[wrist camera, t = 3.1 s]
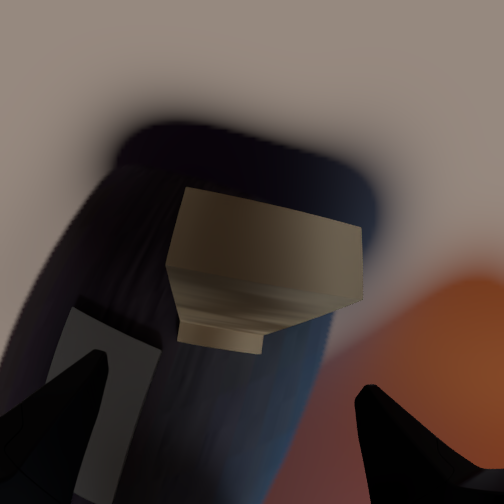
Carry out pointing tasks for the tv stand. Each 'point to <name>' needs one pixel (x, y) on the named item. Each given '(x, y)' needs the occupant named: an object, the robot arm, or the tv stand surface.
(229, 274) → the tapered block
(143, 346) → the slate tile
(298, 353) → the tv stand surface
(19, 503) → the robot arm
